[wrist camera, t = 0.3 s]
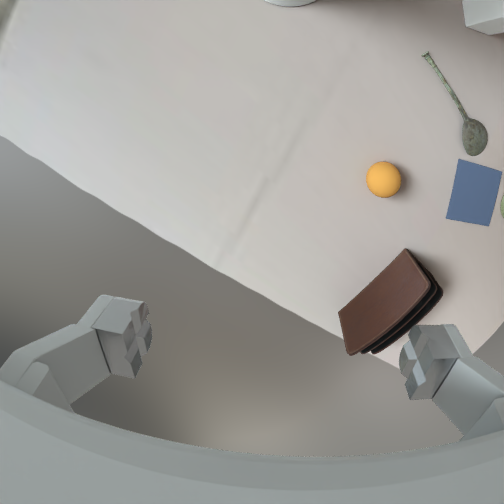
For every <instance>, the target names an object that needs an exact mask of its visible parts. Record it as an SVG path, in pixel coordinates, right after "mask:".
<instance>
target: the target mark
mask: <svg viewBox="0 0 504 504" xmlns="http://www.w3.org/2000/svg"><path fill="white" fill-rule="evenodd" d="M501 175H502V172H501V171H498V170H495V169H491V168H488V167H485V166H482V165H478V164H475V163H471V162H468V161H464V160H460V159H459V160H458V165H457V171H456V176H455V181H454V186H453V190H452V195H451V199H450V203H449V208H448V212H447V216H446V219H451V220H457V221H463V222H468V223H474V224H479V225H485V226H489V223H490V220H491V216H492V213H493V209H494V205H495V201H496V197H497V193H498V189H499V184H500V179H501Z"/></svg>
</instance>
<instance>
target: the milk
mask: <svg viewBox="0 0 504 504" xmlns="http://www.w3.org/2000/svg"><path fill="white" fill-rule="evenodd" d="M462 4H463V11H464V18H465V25H466V27H468V28H471V29H473V30H476V31H479V32H482V33H484V34H487V35H492V34H498V33H504V0H463V1H462Z"/></svg>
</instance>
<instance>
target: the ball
mask: <svg viewBox="0 0 504 504" xmlns="http://www.w3.org/2000/svg"><path fill="white" fill-rule="evenodd" d="M366 182H367V186H368V188H369V189H370V191H371V192H372V193H373V194H375V195H376V196H378V197H382V198H387V197H391V196H393V195H394V194H395V193H396V192H397V191H398V190H399V188H400V185H401V176H400V173H399V171H398V169H397V168H396V167H395V166H394V165H392V164H390V163H388V162H378V163H375V164H374V165H372V166H371V167H370V169H369V170H368V172H367V176H366Z"/></svg>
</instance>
